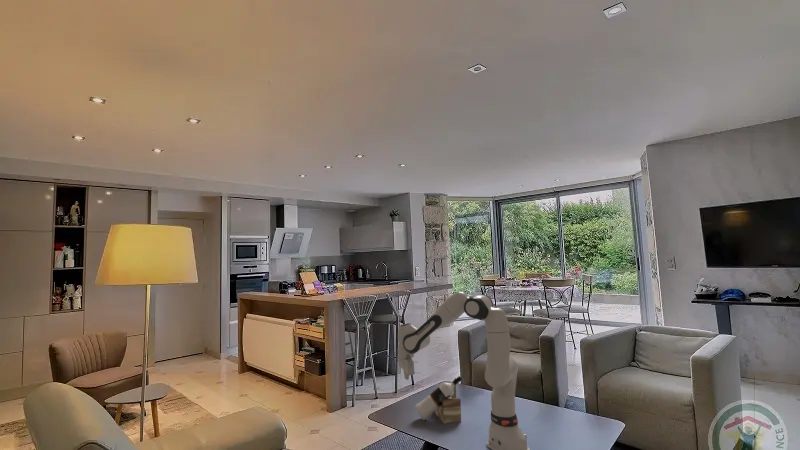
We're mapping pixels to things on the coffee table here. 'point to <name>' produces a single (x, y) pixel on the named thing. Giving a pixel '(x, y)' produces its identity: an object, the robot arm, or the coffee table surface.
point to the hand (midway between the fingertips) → (406, 378)
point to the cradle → (449, 410)
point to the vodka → (436, 398)
